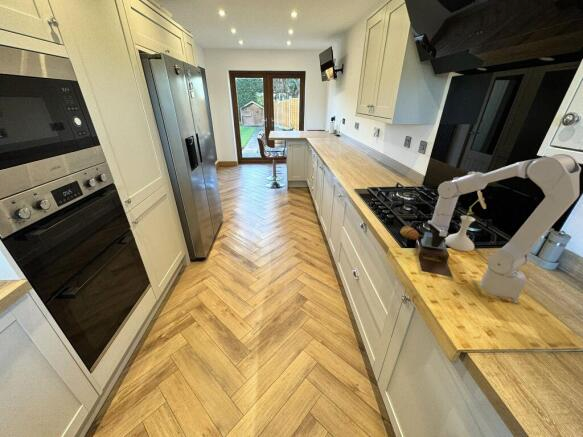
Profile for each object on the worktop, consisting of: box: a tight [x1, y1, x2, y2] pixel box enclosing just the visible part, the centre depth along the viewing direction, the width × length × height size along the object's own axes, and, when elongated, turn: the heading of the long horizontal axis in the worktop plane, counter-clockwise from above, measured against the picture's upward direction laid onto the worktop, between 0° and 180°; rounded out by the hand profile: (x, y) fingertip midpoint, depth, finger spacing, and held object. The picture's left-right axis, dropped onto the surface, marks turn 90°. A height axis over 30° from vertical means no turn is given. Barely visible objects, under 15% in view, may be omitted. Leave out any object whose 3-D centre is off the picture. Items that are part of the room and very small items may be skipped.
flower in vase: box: [445, 190, 487, 252], centre depth 97 cm, size 13×11×25 cm
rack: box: [414, 234, 454, 278], centre depth 90 cm, size 10×18×6 cm, turn 161°
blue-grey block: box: [421, 231, 447, 250], centre depth 92 cm, size 8×4×4 cm, turn 71°
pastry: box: [399, 225, 421, 241], centre depth 108 cm, size 9×7×4 cm
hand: (433, 243), depth 93 cm, fingers closed on blue-grey block, 4 cm apart
